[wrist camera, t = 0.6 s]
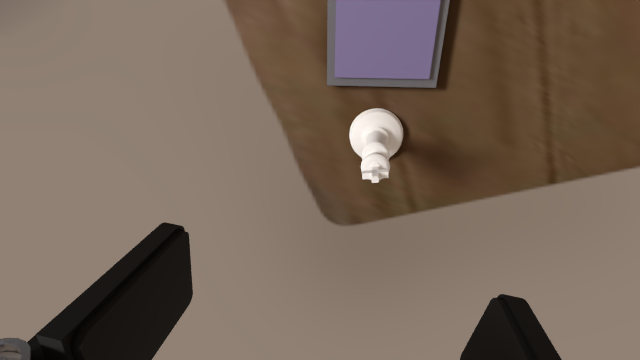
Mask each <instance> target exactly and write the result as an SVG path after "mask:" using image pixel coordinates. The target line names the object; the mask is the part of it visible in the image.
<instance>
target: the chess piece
mask: <svg viewBox="0 0 640 360" xmlns="http://www.w3.org/2000/svg"><path fill="white" fill-rule="evenodd" d="M349 136H350V142H351V145H352V148H353V149H354V151H355V152H356V153H357V154H358V155H359V156H360V157H362V160H363V161H362V163H361V171H362V178H363V179H370V180H372V183H378V182H379V180H381V179H383V178H388V173H389V170H390V163H389V158H390V157H391V156H392V155H394V154H395V153H396V152H397V150H398V149H399V147H400V146H401V143H402V139H403V127H402V124H401V122H400V120H399V119H398V118H397V117H396V116H395V115H394V114H393V113H391V112H390V111H388V110H385V109H379V108H375V109H369V110H366V111H364V112H362V113H361V114H360V115H358V116H357V117H356V118H355V120H354V121H353V123H352V125H351V128H350V133H349Z"/></svg>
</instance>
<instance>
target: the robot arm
mask: <svg viewBox="0 0 640 360" xmlns="http://www.w3.org/2000/svg"><path fill="white" fill-rule="evenodd" d="M190 261H191V260H190V245H189V234H188V232H185V230H184V228H183V226H179V225H175V224H169V223H162V224H161V225H159V226H158V227H157V228H156V229H155V230H154V231H152V232H151V233H150V234H149V235H148V236H147V237H146V238H145V239H143V240H142V241H141V242H140V243H139V244H138V245H137V246H135V247H134V248H133V249H132V250H131V251H130V252H129V253H128V254H126V255H125V256H124V257H123V258H122V259H121V260H120V261H118V262H117V263H116V264H115V265H114V266H113V267H112V268H111V269H110V270H108V271H107V272H106V273H105V274H104V275H103V276H101V277H100V278H99V279H98V280H97V281H96V282H95V283H93V284H92V285H91V286H90V287H89V288H88V289H87V290H86V291H84V292H83V293H82V294H81V295H80V296H79V297H78V298H76V299H75V300H74V301H73V302H72V303H71V304H70V305H69V306H67V307H66V308H65V309H64V310H63V311H62V312H61V313H60V314H58V315H57V316H56V317H55V318H54V319H53V320H52V321H51V322H49V323H48V324H47V325H46V326H45V327H44V328H43V329H41V330H40V331H39V332H38V333H37V334H36V335H35V336H34V337H33V338H32V339H30V340H29V341H28V342H26V341H24V340H21V339H19V338H3V339H0V360H152V358H153V357H154V355H155V354H156V352H157V351H158V350H159V348H160V346H161V345H162V344H163V342H164V341H165V339H166V338H167V336H168V335H169V333H170V332H171V330H172V329H173V328H174V326H175V325H176V323H177V322H178V320H179V319H180V317H181V316H182V314H183V313H184V311H185V310H186V308H187V307H188V305H189V304H190V302H191V299H192V295H193V291H192V277H191V276H192V275H191V262H190ZM460 360H561V358H560V356H559V355H558V353H557V351H556V350H555V348H554V346H553V345H552V343H551V341H550V340H549V338H548V336H547V335H546V333H545V331H544V330H543V328H542V326H541V325H540V323H539V321H538V320H537V318H536V316H535V315H534V313H533V311H532V309H531V308H530V306H529V304H528V303H527V302H526V300H524V299H522V298H518V297H513V296H509V295H504V294H501V295H499V296H498V297H497V298H493V299H492V300H491V301H490V303H489V305H488V306H487V308H486V310H485V312H484V314H483V316H482V317H481V319H480V321H479V323H478V325H477V327H476V328H475V330H474V332H473V334H472V336H471V338H470V340H469V342H468V343H467V345H466V347H465V349H464V351H463V352H462V354H461V358H460Z"/></svg>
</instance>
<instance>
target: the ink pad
mask: <svg viewBox="0 0 640 360" xmlns="http://www.w3.org/2000/svg"><path fill="white" fill-rule="evenodd" d="M449 2H450V0H328V34H327V85H338V86H382V87H426V88H436V84H437V78H438V72H439V65H440V59H441V53H442V46H443V40H444V33H445V27H446V21H447V14H448V8H449Z"/></svg>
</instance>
